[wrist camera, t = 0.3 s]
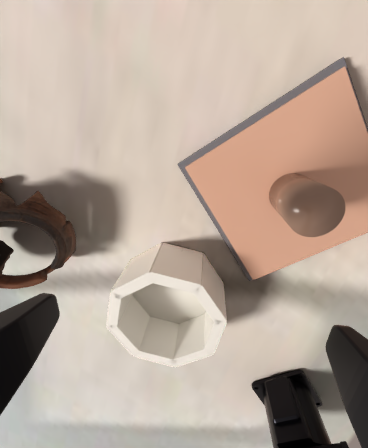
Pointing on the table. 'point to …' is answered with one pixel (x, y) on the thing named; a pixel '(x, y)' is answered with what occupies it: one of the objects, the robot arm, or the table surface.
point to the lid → (291, 178)
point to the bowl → (168, 306)
